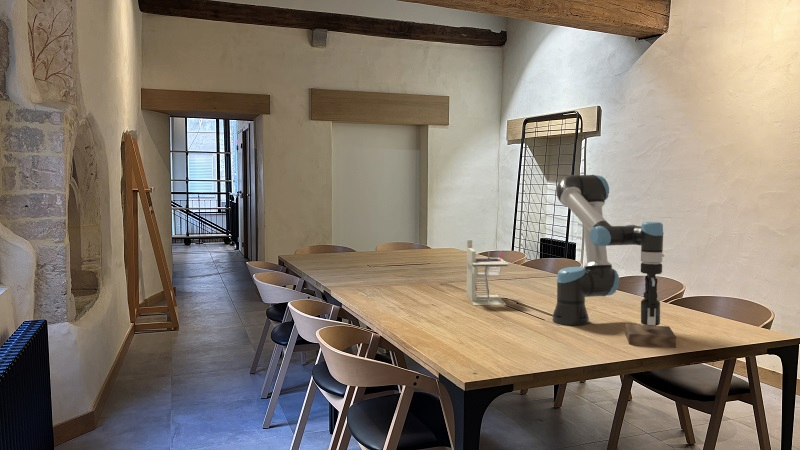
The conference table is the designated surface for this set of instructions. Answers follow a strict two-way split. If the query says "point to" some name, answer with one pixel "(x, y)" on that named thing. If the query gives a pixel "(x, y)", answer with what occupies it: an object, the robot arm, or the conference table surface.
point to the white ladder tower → (473, 272)
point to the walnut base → (650, 335)
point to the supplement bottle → (645, 311)
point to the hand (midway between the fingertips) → (650, 322)
